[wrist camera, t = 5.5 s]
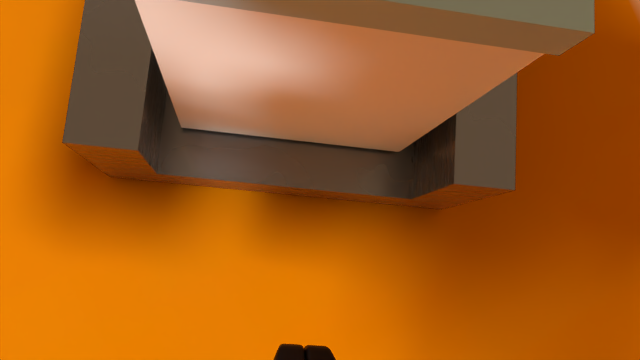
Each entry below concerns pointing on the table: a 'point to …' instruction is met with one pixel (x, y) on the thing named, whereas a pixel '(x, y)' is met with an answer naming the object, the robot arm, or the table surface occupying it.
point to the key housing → (264, 152)
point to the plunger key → (347, 61)
